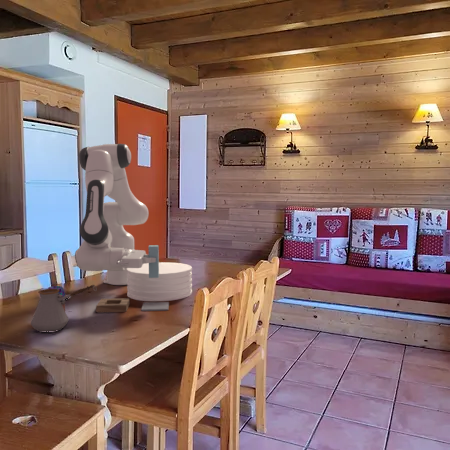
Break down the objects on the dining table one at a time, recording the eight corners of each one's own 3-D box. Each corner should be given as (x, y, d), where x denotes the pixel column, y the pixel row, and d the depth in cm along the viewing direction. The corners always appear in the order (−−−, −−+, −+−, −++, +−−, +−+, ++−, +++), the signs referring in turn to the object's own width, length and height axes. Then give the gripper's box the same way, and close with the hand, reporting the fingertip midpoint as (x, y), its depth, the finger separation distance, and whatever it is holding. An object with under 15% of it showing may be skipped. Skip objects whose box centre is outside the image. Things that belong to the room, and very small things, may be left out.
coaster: (143, 304, 182) (143, 302, 182) (168, 303, 183) (168, 302, 183) (141, 310, 172) (141, 309, 172) (168, 310, 173) (168, 308, 173)
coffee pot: (24, 334, 145) (22, 288, 143) (40, 323, 156) (39, 280, 155) (91, 335, 144) (90, 288, 142) (102, 324, 155) (101, 281, 154)
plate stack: (155, 284, 220) (155, 260, 219) (204, 291, 205) (204, 265, 204) (113, 296, 196) (112, 269, 195) (165, 305, 181) (165, 276, 180)
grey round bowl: (77, 298, 192) (76, 286, 192) (52, 304, 182) (52, 291, 182) (58, 294, 199) (58, 282, 198) (34, 300, 188) (33, 288, 188)
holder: (101, 304, 181) (101, 298, 181) (129, 304, 182) (129, 298, 182) (96, 312, 170) (96, 306, 170) (126, 311, 171) (126, 305, 171)
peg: (149, 275, 178) (149, 245, 177) (158, 275, 178) (158, 245, 177) (148, 277, 174) (148, 246, 173) (158, 277, 175) (158, 246, 174)
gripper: (115, 255, 164) (154, 254, 165) (122, 247, 184) (157, 247, 185) (115, 272, 164) (154, 272, 166) (122, 262, 185) (157, 262, 186)
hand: (156, 258), depth 176 cm, fingers closed on peg, 4 cm apart
